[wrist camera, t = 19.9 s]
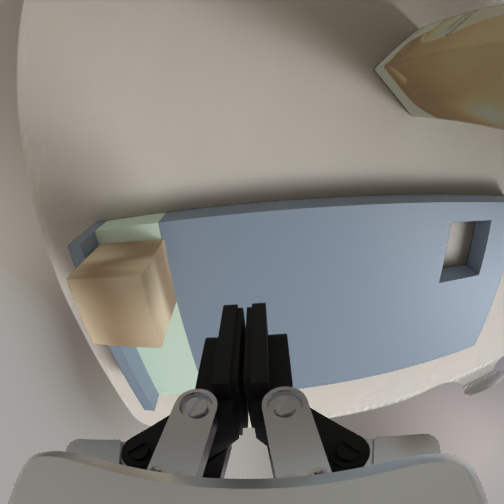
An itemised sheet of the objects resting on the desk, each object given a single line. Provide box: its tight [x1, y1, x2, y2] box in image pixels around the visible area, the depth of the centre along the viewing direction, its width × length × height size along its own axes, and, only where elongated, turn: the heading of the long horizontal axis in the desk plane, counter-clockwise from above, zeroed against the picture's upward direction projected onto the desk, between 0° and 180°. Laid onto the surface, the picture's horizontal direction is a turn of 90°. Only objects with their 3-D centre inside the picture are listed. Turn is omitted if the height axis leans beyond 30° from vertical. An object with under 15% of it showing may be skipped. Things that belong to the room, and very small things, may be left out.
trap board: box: [68, 194, 504, 411], centre depth 19 cm, size 34×16×4 cm, turn 95°
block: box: [67, 239, 177, 348], centre depth 15 cm, size 4×4×4 cm
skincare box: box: [375, 4, 504, 130], centre depth 8 cm, size 6×4×12 cm
